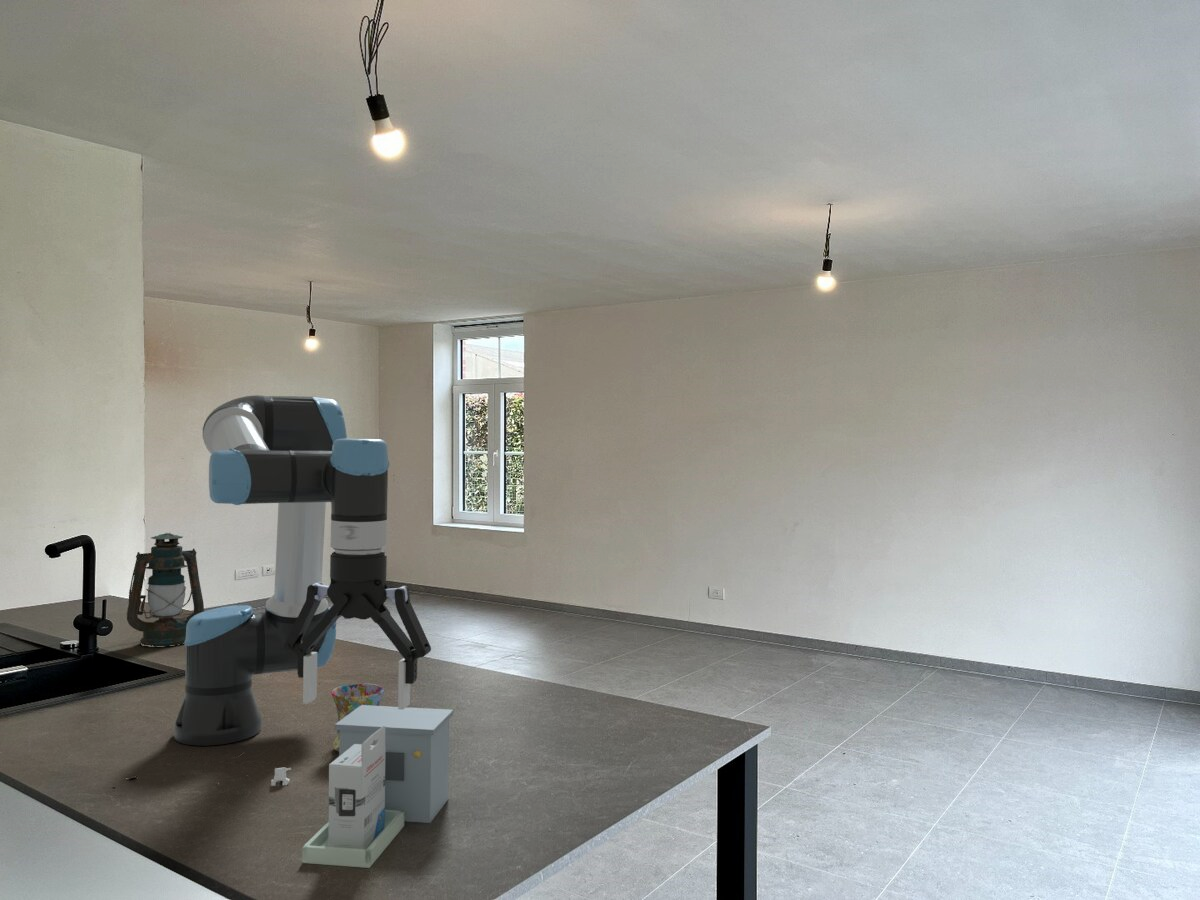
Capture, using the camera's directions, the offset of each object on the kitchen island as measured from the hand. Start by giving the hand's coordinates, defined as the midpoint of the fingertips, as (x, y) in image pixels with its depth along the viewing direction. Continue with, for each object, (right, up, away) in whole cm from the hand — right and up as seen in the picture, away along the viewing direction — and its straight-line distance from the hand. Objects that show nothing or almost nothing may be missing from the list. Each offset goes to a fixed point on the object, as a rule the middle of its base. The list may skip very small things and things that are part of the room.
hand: (356, 703), depth 125 cm
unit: (+3, -19, +12) cm, 23 cm away
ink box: (0, -19, 0) cm, 19 cm away
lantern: (-85, -18, +121) cm, 149 cm away
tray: (0, -19, 0) cm, 19 cm away
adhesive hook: (-18, -20, +23) cm, 35 cm away
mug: (-11, -19, +39) cm, 45 cm away
